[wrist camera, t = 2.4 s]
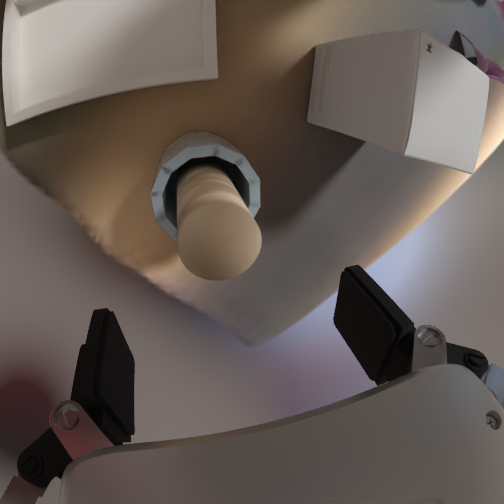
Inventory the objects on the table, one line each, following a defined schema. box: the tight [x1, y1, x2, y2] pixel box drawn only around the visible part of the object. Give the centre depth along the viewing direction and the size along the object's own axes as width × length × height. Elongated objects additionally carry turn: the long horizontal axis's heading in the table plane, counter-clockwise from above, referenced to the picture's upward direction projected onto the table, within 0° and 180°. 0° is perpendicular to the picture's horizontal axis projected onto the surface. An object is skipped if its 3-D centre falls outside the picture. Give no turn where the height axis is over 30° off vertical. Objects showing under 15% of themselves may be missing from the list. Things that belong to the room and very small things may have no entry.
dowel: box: [177, 156, 262, 280], centre depth 21 cm, size 4×4×14 cm
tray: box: [2, 0, 218, 127], centre depth 17 cm, size 20×14×3 cm
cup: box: [150, 131, 261, 242], centre depth 24 cm, size 8×8×8 cm
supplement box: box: [307, 29, 489, 174], centre depth 20 cm, size 9×9×15 cm
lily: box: [458, 31, 504, 84], centre depth 24 cm, size 12×12×10 cm
